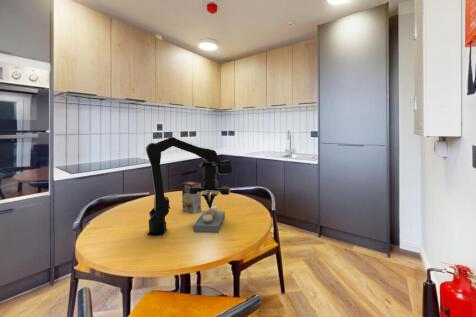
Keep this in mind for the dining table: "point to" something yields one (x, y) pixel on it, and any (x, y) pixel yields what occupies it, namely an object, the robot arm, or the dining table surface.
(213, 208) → the button offwhite
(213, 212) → the button terracotta
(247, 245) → the dining table surface
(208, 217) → the button sage
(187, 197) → the coffee box
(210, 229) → the button panel
